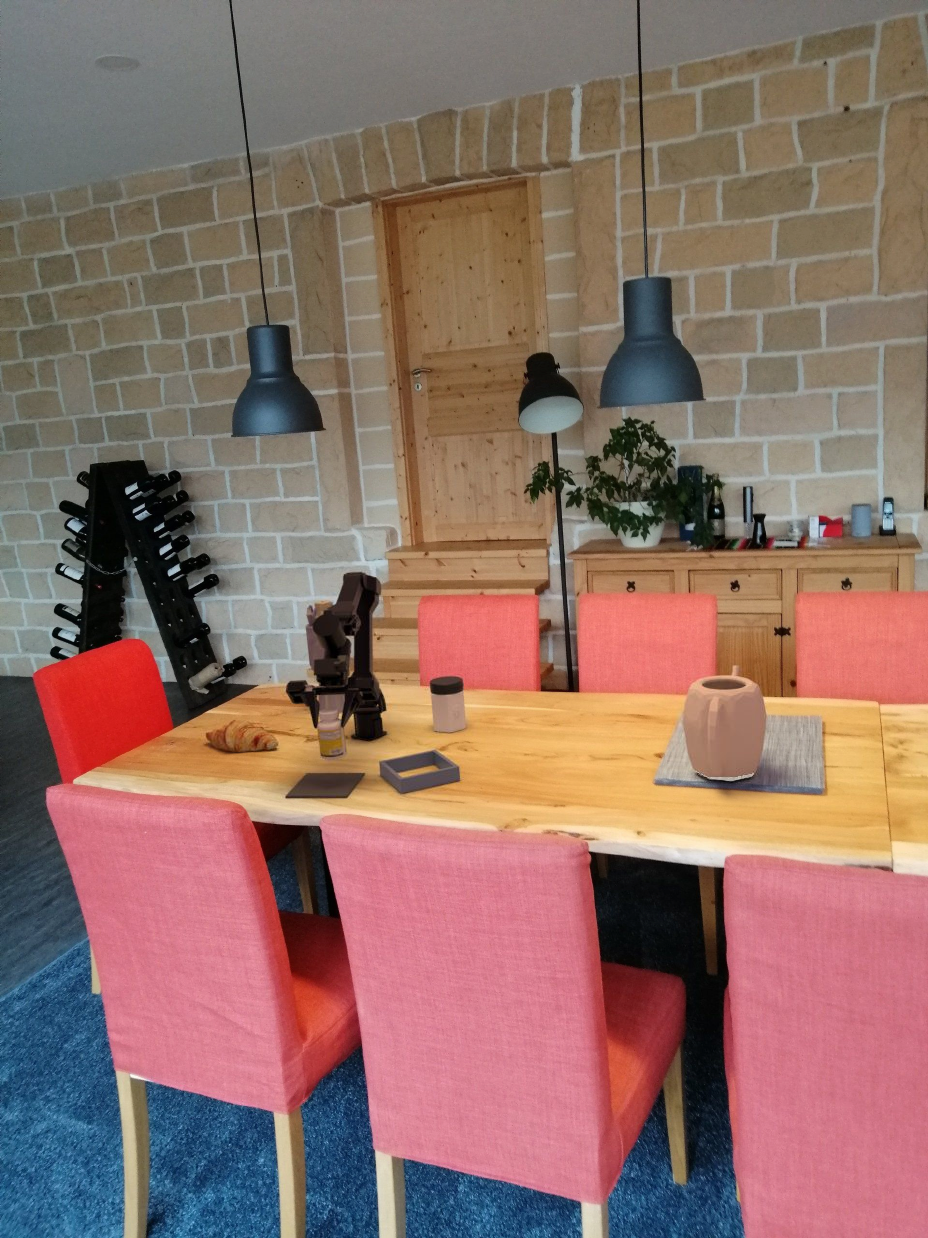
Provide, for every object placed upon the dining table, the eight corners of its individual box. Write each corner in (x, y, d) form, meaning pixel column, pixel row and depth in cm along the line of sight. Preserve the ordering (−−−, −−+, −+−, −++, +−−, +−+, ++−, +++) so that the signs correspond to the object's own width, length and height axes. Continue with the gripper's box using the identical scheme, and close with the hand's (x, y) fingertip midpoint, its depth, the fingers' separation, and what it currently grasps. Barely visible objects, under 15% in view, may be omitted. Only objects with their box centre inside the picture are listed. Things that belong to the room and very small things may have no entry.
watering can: (776, 752, 195) (775, 665, 192) (756, 799, 172) (755, 701, 168) (701, 746, 202) (699, 662, 198) (672, 791, 179) (669, 696, 175)
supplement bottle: (329, 750, 197) (325, 706, 195) (351, 752, 194) (347, 707, 192) (315, 759, 192) (310, 713, 190) (337, 761, 189) (332, 715, 188)
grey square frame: (380, 774, 199) (379, 761, 198) (436, 762, 204) (435, 749, 203) (401, 793, 187) (400, 779, 187) (460, 780, 192) (459, 766, 192)
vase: (350, 713, 247) (339, 602, 242) (311, 716, 247) (300, 604, 241) (354, 702, 257) (343, 595, 252) (316, 705, 257) (305, 598, 252)
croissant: (286, 760, 224) (292, 727, 226) (263, 754, 215) (269, 719, 217) (215, 752, 232) (222, 721, 234) (189, 746, 224) (196, 713, 226)
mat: (307, 775, 202) (306, 773, 202) (364, 774, 200) (364, 772, 200) (285, 798, 189) (285, 795, 189) (346, 798, 187) (346, 795, 187)
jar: (443, 735, 223) (439, 687, 220) (425, 728, 229) (421, 681, 227) (474, 727, 227) (470, 679, 225) (456, 720, 234) (452, 674, 232)
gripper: (283, 643, 193) (272, 710, 185) (371, 639, 191) (364, 707, 183) (297, 670, 203) (288, 735, 194) (381, 666, 200) (376, 732, 192)
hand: (328, 727), depth 190 cm, fingers closed on supplement bottle, 5 cm apart
